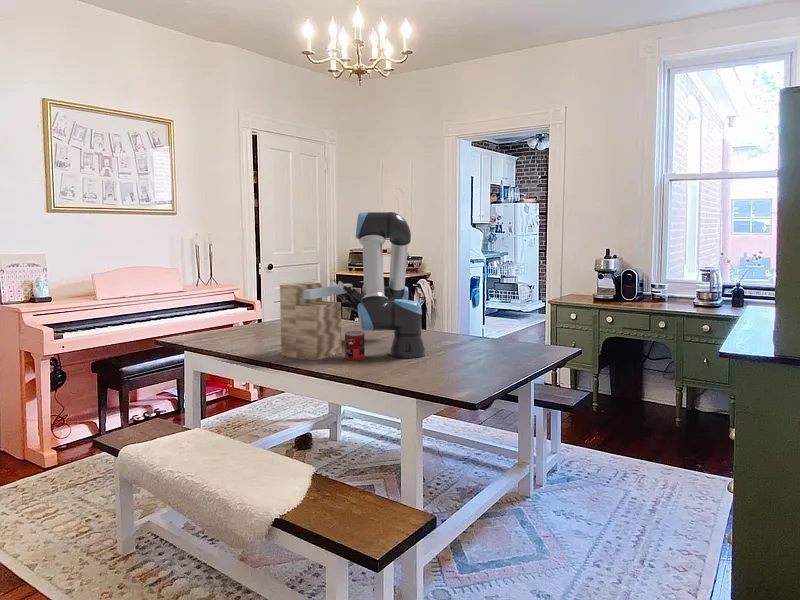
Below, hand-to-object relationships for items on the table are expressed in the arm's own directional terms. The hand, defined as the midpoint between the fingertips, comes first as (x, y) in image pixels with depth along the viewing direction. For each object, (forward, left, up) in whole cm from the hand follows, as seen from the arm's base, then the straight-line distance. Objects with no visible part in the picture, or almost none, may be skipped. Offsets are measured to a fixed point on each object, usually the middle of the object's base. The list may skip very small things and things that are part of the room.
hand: (334, 283), depth 258 cm
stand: (+3, +12, -30) cm, 32 cm away
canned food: (-17, +4, -30) cm, 35 cm away
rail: (-1, +4, -4) cm, 6 cm away
